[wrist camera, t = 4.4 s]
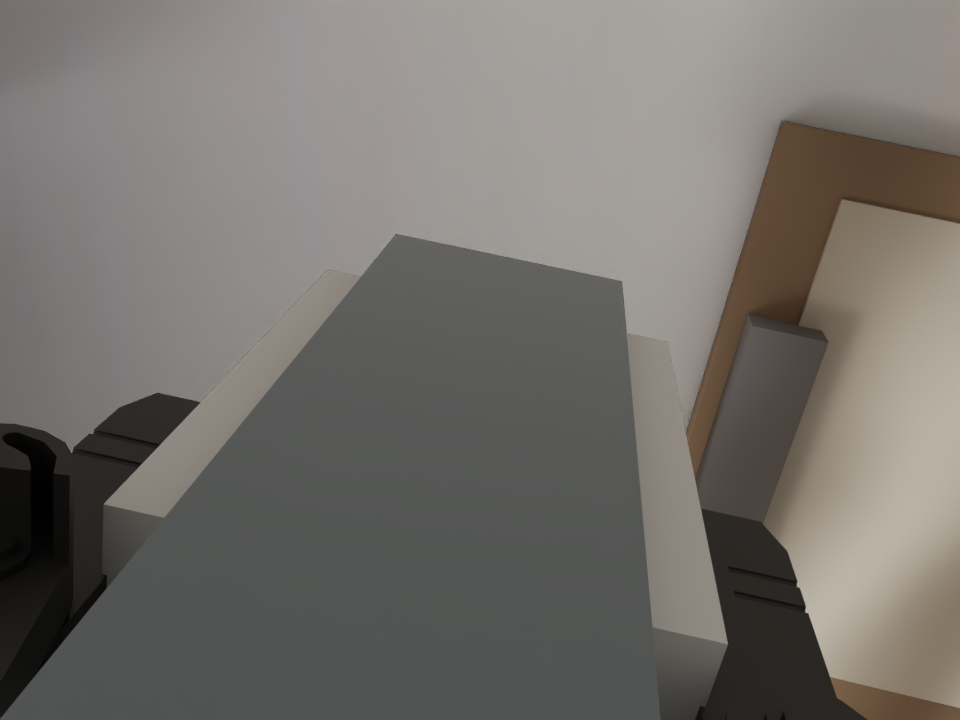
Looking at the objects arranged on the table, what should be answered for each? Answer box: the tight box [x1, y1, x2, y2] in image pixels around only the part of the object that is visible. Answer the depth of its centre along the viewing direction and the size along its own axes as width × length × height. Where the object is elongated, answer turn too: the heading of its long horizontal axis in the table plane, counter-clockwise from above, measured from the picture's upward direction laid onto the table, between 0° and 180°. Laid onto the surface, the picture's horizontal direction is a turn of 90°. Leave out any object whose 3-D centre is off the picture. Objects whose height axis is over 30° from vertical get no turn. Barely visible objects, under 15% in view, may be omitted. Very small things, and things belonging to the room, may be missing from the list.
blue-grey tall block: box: [0, 234, 661, 720], centre depth 10 cm, size 4×4×14 cm
